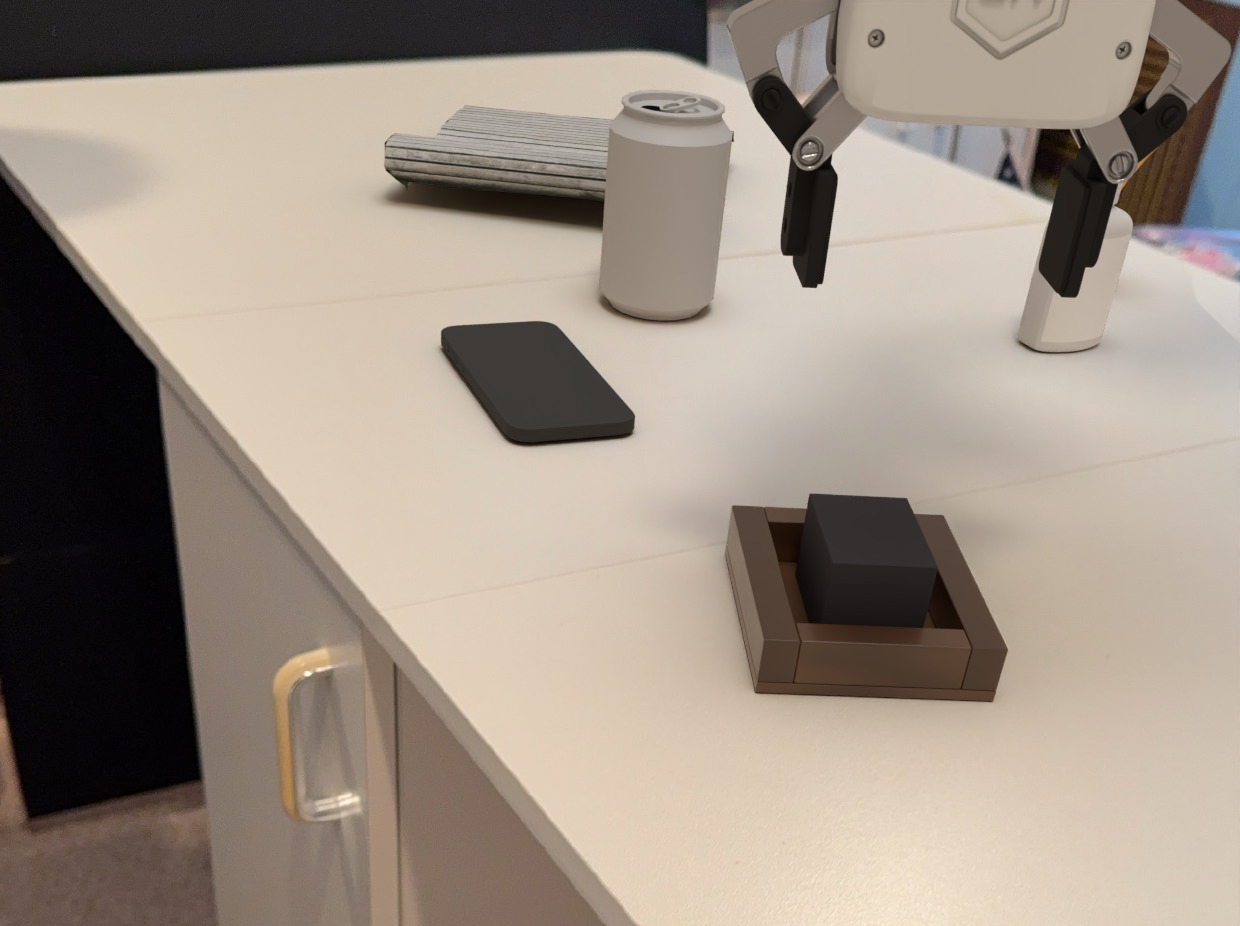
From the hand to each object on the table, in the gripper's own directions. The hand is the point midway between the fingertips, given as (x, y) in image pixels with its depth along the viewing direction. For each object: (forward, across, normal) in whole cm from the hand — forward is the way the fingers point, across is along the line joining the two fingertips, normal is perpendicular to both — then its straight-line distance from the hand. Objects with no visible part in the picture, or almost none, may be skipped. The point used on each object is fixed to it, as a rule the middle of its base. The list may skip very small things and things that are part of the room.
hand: (932, 280), depth 55 cm
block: (+14, -1, 0) cm, 14 cm away
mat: (+15, -12, +67) cm, 69 cm away
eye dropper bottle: (+16, +19, +37) cm, 44 cm away
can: (+15, -7, +40) cm, 43 cm away
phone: (+15, -15, +25) cm, 32 cm away
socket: (+15, -1, 0) cm, 15 cm away
